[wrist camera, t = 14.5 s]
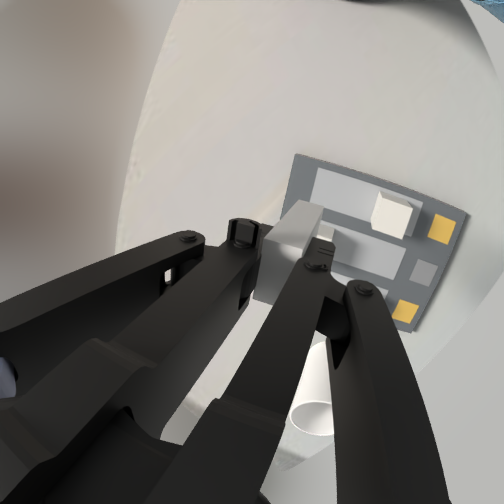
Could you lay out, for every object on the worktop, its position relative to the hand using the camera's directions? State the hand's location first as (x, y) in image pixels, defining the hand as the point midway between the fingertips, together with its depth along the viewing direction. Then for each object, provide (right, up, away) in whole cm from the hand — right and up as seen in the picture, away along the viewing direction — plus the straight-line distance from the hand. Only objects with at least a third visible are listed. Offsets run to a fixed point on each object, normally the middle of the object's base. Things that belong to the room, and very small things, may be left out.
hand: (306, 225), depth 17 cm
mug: (+11, -19, +26) cm, 34 cm away
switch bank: (+11, -1, +19) cm, 22 cm away
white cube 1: (+13, +3, +15) cm, 20 cm away
